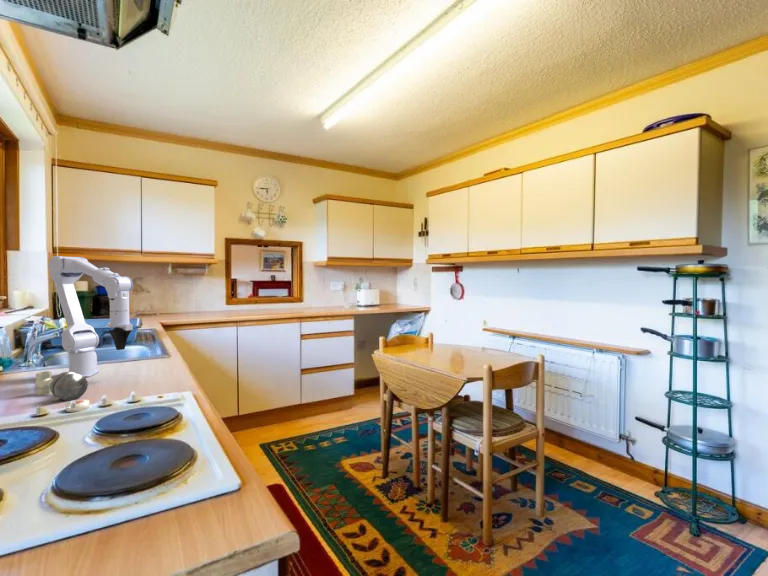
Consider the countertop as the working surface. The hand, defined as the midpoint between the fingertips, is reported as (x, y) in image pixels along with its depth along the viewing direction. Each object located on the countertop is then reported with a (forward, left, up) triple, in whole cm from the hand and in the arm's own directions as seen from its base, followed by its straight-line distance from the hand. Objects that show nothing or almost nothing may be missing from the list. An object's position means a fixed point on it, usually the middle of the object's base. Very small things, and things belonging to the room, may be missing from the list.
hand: (120, 349), depth 141 cm
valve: (+15, -13, -11) cm, 23 cm away
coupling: (+23, -6, -10) cm, 26 cm away
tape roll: (+34, +1, -10) cm, 36 cm away
